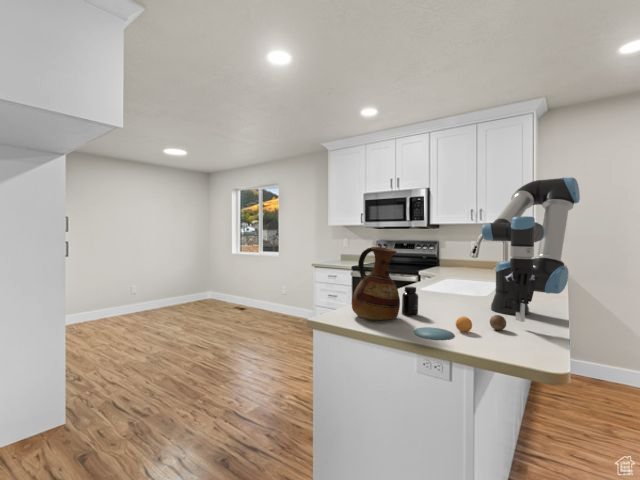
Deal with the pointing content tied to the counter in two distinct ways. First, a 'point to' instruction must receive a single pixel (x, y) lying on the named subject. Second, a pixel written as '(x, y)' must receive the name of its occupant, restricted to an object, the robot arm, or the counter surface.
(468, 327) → the object ball
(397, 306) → the ceramic pitcher
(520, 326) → the counter surface
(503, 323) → the dark brown ball
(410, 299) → the supplement bottle
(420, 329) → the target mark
